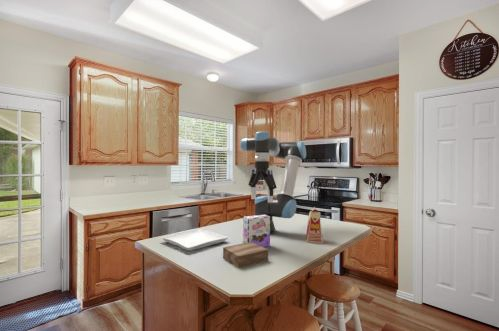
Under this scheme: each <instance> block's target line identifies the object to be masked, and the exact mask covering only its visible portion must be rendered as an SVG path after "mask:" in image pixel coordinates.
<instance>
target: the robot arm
mask: <svg viewBox="0 0 499 331" xmlns="http://www.w3.org/2000/svg"><path fill="white" fill-rule="evenodd" d="M254 134H255V135H254V137H245V138H242V139H241V140H240V149H241V150H242V151H244V152H254V154H255V155H254V160H255V161H254V168H255V169H252V170H251V175H250V179H249V181H248V186H249V187H250V192H251V193H250V194H251V195H250V196H251V200H254V216H258V215H267V216H270V235H271V234H274V233H276V227H275V224H274V220H273V218H280V219H281V218H283V219H291V218H293V217H294V216H295V214H296V211H297V200H296V198H295V197H294V191H295V186H296V181H297V175H298V171H299V167H300V164H301V163H303V162H302V161H303V160H304V159H306V157H307V148H306V145H305V143H304V142H303V141H282V142H280V141H279V140H278V139H277V138H276V137H274V136H273V137H272V136H270V133H269V132H268V131H257V132H255V133H254ZM270 157H274V158H278V159H282V160H283V159H284V160H285V161H286V162H285V167H284V171H283V176H282V180H281V185H280V191H279V193H277V194H276V197H274V190H275V189H277V185H276V184H277V183H276V181H275V179H274V178H275V177H274V175H273V170H271V169H270V170H269V167H270V161H269V160H270ZM260 179H262V180H264V182H265V184H266V186H267V188H268V189H267V195H261V196H257V187H256V186H257V184H258V183H259V181H260Z"/></svg>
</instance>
